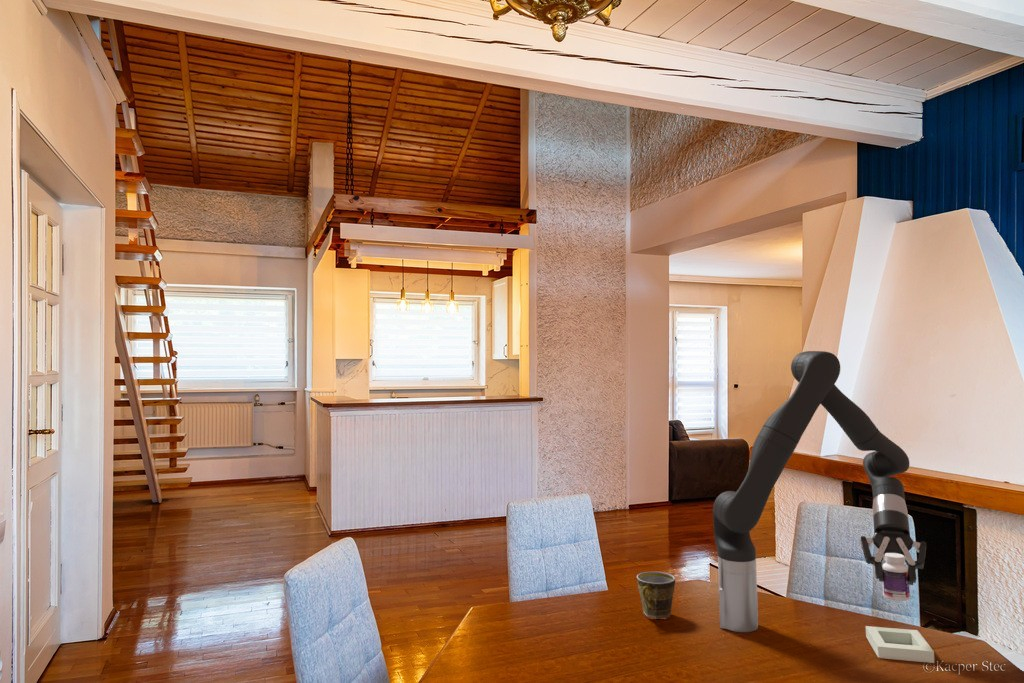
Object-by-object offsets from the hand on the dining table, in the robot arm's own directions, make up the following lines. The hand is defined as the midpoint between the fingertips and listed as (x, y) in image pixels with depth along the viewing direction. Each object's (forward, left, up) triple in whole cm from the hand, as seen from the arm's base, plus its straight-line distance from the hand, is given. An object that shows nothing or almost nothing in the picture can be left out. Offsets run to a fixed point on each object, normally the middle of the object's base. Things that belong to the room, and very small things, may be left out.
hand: (896, 581), depth 152 cm
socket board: (0, +2, -16) cm, 16 cm away
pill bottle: (0, +2, -4) cm, 5 cm away
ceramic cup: (-55, +9, -16) cm, 58 cm away
